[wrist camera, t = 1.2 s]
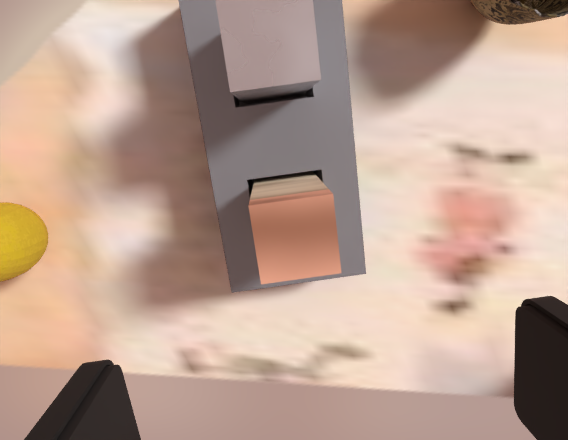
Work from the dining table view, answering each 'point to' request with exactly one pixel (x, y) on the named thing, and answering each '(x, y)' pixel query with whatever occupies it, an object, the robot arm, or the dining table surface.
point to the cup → (520, 10)
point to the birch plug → (294, 227)
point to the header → (275, 139)
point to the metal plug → (269, 48)
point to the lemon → (20, 240)
